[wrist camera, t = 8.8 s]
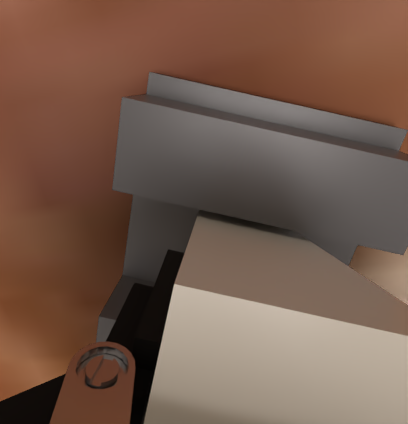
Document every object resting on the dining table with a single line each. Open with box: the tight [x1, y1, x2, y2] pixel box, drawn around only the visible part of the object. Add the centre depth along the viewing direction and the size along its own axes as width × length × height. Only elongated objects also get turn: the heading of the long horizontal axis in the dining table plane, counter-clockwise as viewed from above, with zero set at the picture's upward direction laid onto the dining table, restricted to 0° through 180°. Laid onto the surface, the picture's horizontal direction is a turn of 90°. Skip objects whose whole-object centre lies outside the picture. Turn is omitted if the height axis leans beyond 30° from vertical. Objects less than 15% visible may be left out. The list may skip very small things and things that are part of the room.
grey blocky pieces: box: [96, 72, 408, 342], centre depth 16 cm, size 23×10×4 cm, turn 168°
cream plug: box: [144, 210, 408, 424], centre depth 9 cm, size 4×4×10 cm
